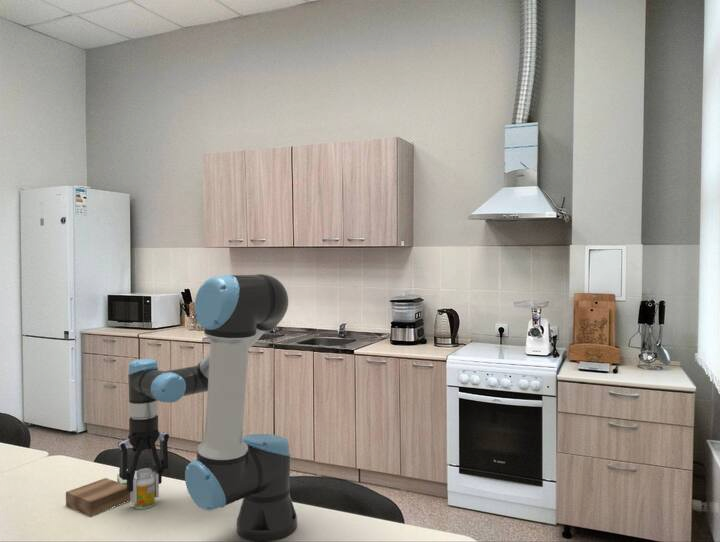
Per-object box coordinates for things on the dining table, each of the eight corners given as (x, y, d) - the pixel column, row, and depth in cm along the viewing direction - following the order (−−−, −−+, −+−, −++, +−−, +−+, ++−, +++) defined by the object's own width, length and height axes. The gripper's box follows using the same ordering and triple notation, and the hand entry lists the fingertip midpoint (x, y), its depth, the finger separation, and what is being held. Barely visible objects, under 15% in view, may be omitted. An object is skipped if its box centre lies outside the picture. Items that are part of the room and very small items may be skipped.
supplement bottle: (129, 507, 156) (129, 472, 156) (145, 499, 161) (145, 465, 160) (143, 511, 153) (143, 475, 153) (159, 503, 158) (158, 469, 158)
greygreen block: (149, 491, 167) (149, 478, 167) (120, 497, 163) (120, 483, 163) (145, 482, 174) (145, 469, 174) (117, 487, 170) (117, 474, 170)
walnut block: (131, 500, 160) (130, 486, 160) (91, 516, 150) (90, 501, 150) (105, 491, 167) (105, 477, 167) (66, 506, 157) (65, 492, 156)
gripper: (170, 407, 165) (171, 486, 166) (104, 419, 153) (105, 504, 153) (181, 412, 160) (182, 493, 160) (113, 425, 147) (115, 513, 148)
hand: (144, 498), depth 157 cm, fingers closed on supplement bottle, 5 cm apart
